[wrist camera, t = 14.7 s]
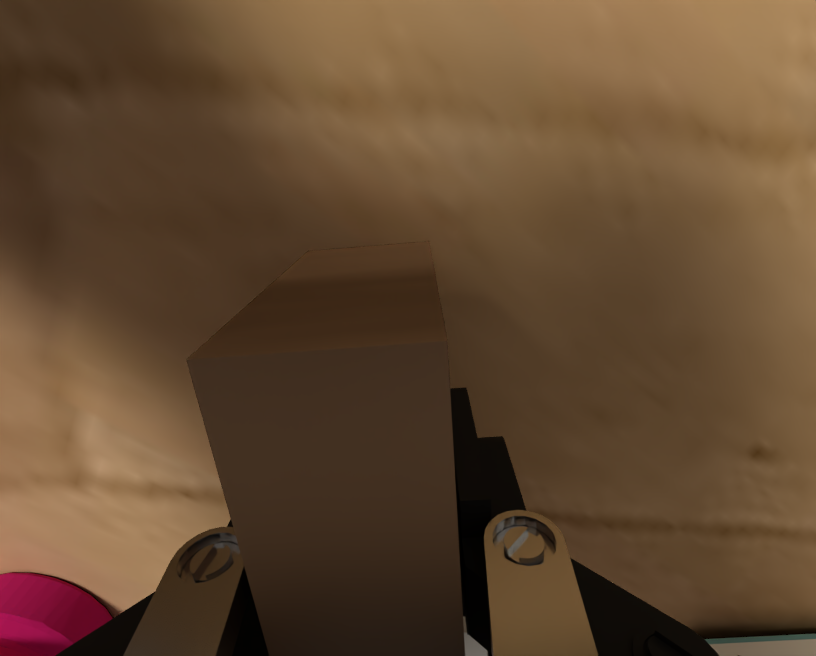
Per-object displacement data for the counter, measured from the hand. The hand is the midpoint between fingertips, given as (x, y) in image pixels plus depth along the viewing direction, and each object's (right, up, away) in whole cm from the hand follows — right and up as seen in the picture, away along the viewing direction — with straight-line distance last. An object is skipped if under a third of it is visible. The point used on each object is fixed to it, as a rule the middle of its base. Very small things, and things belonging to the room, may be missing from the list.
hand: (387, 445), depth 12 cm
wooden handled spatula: (0, -5, +3) cm, 6 cm away
